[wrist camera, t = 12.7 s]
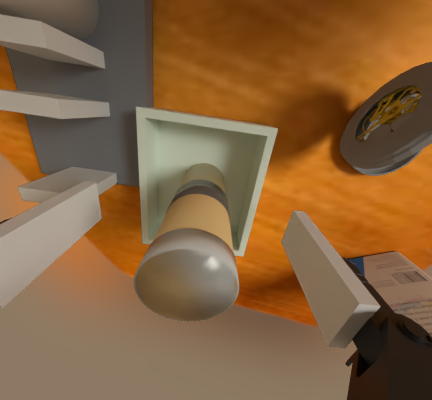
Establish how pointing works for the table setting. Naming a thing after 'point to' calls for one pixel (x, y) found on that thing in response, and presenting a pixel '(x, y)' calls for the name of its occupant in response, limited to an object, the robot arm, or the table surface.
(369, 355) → the robot arm
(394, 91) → the pocket watch
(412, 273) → the ink box
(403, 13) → the table surface
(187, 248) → the cylinder
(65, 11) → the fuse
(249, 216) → the parts tray
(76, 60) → the fuse board
